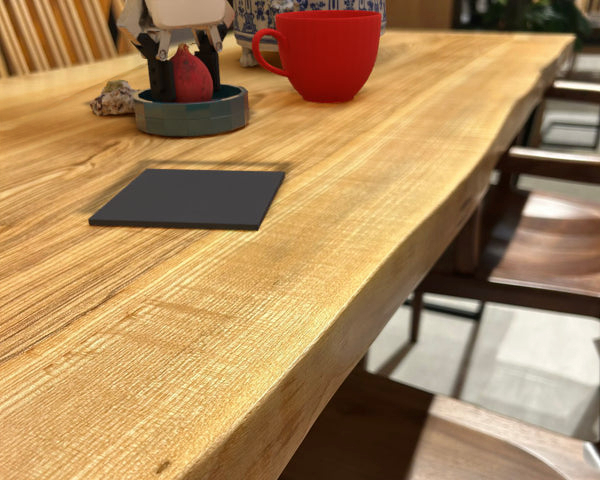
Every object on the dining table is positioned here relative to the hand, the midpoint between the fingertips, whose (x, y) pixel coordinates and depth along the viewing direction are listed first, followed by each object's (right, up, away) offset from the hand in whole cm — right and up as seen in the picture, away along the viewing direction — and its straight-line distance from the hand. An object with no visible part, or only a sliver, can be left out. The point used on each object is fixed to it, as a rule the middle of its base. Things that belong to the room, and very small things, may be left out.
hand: (186, 93), depth 69 cm
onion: (0, -3, +2) cm, 3 cm away
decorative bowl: (+14, +21, +46) cm, 53 cm away
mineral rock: (-9, +1, +10) cm, 14 cm away
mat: (+4, -15, -20) cm, 25 cm away
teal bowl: (0, -3, +2) cm, 3 cm away
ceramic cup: (+14, +3, +12) cm, 19 cm away
